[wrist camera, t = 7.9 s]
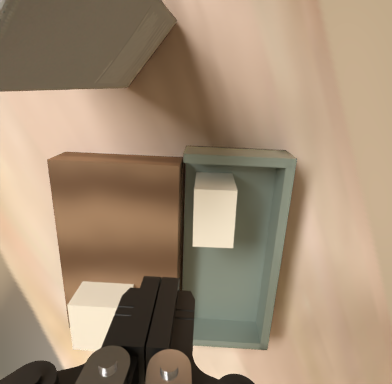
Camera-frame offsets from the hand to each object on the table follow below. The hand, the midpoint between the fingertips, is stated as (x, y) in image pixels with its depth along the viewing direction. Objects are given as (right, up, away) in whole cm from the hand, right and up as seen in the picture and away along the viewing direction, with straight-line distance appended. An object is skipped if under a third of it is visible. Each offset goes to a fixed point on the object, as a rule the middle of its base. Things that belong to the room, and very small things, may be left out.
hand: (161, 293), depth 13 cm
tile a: (+1, +3, +11) cm, 11 cm away
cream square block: (-6, -6, +14) cm, 16 cm away
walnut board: (-5, 0, +15) cm, 16 cm away
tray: (+4, -1, +15) cm, 15 cm away
